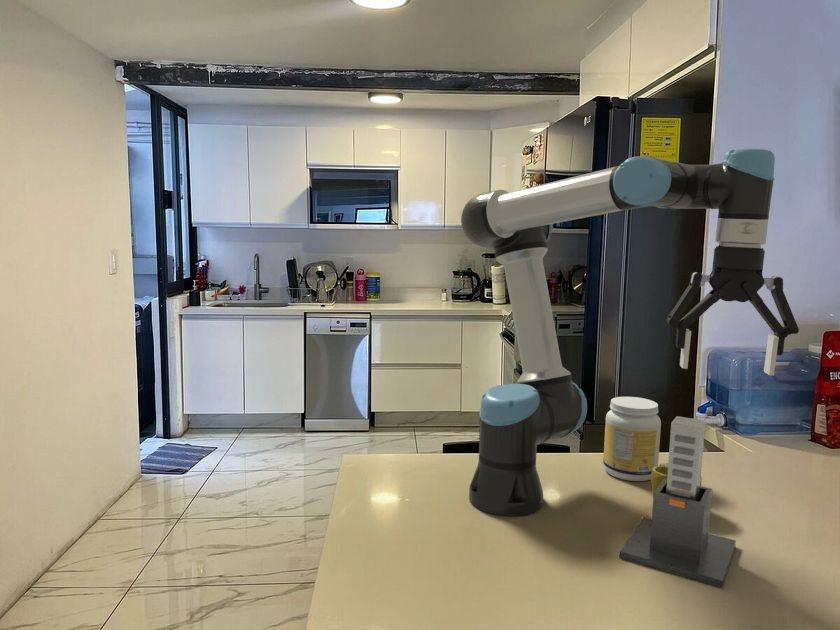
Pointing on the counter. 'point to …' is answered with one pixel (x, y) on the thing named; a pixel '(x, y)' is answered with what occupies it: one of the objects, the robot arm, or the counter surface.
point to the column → (685, 458)
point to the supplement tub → (632, 438)
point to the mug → (659, 475)
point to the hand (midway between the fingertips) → (725, 370)
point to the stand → (680, 539)
